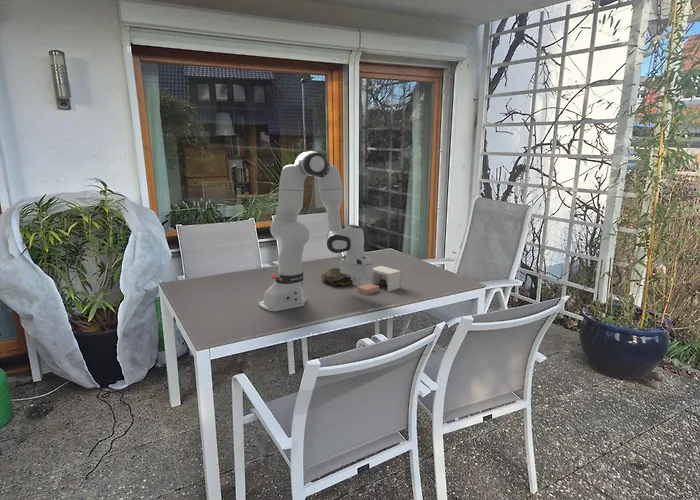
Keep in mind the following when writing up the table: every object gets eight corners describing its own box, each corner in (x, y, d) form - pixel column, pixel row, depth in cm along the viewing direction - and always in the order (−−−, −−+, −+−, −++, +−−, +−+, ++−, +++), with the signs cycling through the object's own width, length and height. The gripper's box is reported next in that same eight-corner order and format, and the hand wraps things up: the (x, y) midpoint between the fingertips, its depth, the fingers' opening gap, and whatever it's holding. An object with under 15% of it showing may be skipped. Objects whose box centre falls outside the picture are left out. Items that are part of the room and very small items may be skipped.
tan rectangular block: (366, 295, 219) (366, 289, 218) (357, 292, 224) (357, 286, 223) (379, 291, 225) (379, 286, 224) (370, 288, 229) (370, 283, 229)
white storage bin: (389, 291, 224) (389, 273, 222) (370, 285, 234) (370, 268, 232) (400, 287, 230) (400, 270, 228) (381, 282, 240) (381, 265, 238)
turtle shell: (341, 265, 253) (358, 266, 236) (342, 281, 254) (359, 283, 236) (315, 268, 245) (331, 270, 228) (316, 284, 246) (332, 287, 228)
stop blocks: (393, 288, 229) (393, 283, 229) (379, 284, 237) (380, 279, 236) (396, 287, 231) (396, 283, 230) (382, 283, 238) (382, 279, 237)
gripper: (336, 255, 220) (337, 282, 223) (365, 262, 205) (366, 290, 208) (345, 253, 224) (346, 279, 227) (374, 260, 209) (375, 287, 213)
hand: (356, 284), depth 218 cm, fingers closed
